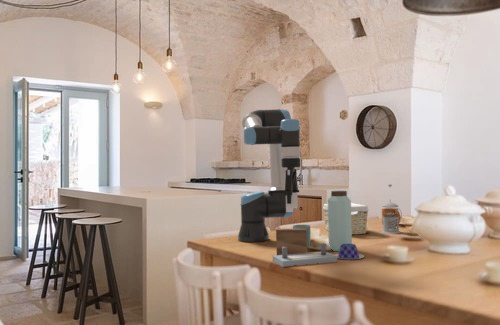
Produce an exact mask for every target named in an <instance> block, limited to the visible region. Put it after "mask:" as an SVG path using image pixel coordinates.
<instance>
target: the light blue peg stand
mask: <svg viewBox="0 0 500 325" xmlns="http://www.w3.org/2000/svg"><path fill="white" fill-rule="evenodd" d="M272 262H274V263H276V264H277V265H279V266H280V267H282V268H284V267H295V266H294V265H297V266H305V265H306V264H307V265H315V264H316V265H317V263H318V264H325V263H326V264H327V263H328V264H329V263H336V262H338V258H337V256H335V254H332V253H331V252H328V251H327V244H326V243H320V251H313V252H308V253H299V254H287V247H282V255H277V254H276V255H272Z"/></svg>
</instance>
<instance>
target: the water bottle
mask: <svg viewBox="0 0 500 325" xmlns="http://www.w3.org/2000/svg"><path fill="white" fill-rule="evenodd" d="M347 192H348V191H347V190H333V191H331V194H330V197H329V198H328V199H327V204H328V228H329V231H328V246H329V245H330V247H329V249H330V250H331V249H332V250H333V251H334V252H339V251H340V246H341V245H342V244H353V238H352V237H353V234H352V227H351V203H352V200H351V199H350V197H348V195H347V194H348V193H347ZM332 250H331V251H332ZM333 251H332V252H333Z"/></svg>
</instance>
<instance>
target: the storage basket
mask: <svg viewBox="0 0 500 325" xmlns="http://www.w3.org/2000/svg"><path fill="white" fill-rule="evenodd" d="M322 209H323V210H324V211H323V212H324V215H323V216H324V217H323V218H324V227H325V230H326V231H328V232H329V228H328V203H324V204H323V208H322ZM368 212H369V207H368V205H365V204H359V203H353V202H351V227H352V235H363V234H366V233H367V229H368V228H367V225H368V223H367V222H368Z"/></svg>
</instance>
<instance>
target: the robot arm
mask: <svg viewBox="0 0 500 325" xmlns="http://www.w3.org/2000/svg"><path fill="white" fill-rule="evenodd" d="M241 125H242V129H243V144H245V145H248V146H249V145H251V146H254V145H269V166H270V188H269V189H268V190H267V193H266V194H265V192H264V191H254V192H248V193H244V194H242V195H241V197H240V218H241V220H240V221H241V224H240V229H239V232H238V235H237V240H238V241H239V242H244V243H256V242H257V243H258V242H259V243H260V242H265V241H269V240H270V237H269V236H270V235H269V231H268V228H267V225H266V221H265V219H267V218H269V219H270V218H271V219H274V218H275V219H276V218H289V217H290V218H291V216H293V215H294V212H295V209H298V208H299V205H298V204H299V201H298V193H300V190H299V186H298V176H297V174H298V172H297V169H296V168H300V167H301V159H300V157H301V147H300V146H301V144H300V142H301V141H300V140H301V138H300V137H301V136H300V135H301V134H300V128H301V127H300V121H299V120H298V118H297V119H296V118H292V117H291V114H290V111H289V110H287V109H280V108H279V109H256V110H252V111H250V112H249V113H247V114H246V115H244V117H243V119H242V121H241Z"/></svg>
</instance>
